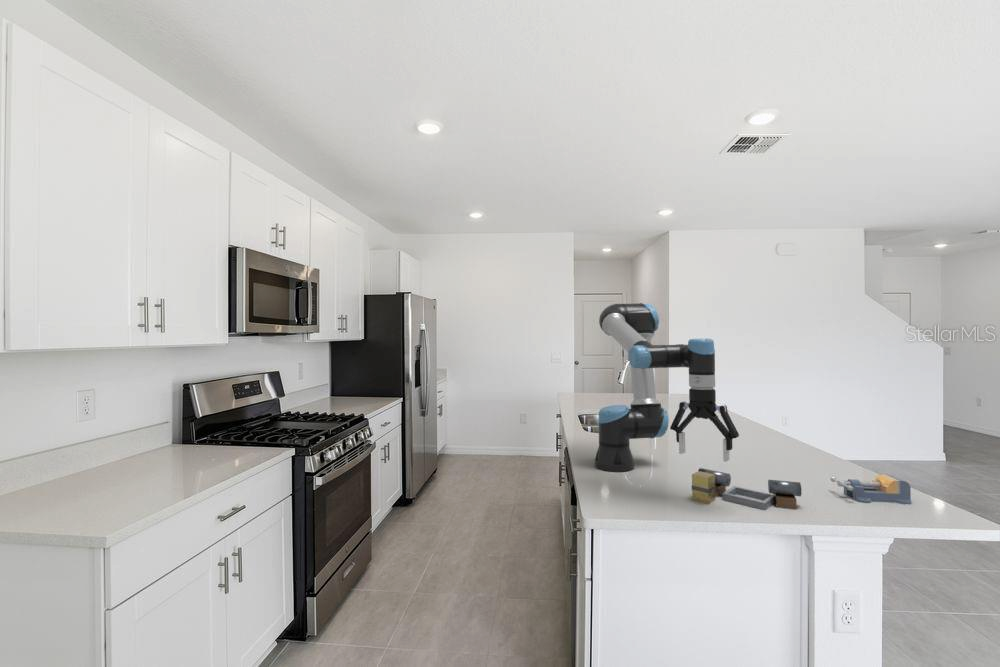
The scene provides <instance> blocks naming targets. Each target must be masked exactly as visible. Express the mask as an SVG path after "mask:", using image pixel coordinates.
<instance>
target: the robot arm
mask: <svg viewBox="0 0 1000 667" xmlns="http://www.w3.org/2000/svg"><path fill="white" fill-rule="evenodd" d="M658 313H659V312H658V311H657V309H656V308H655V307H654V306H653V305H652V304H649V303H642V302H641V303H613V304H610V305H608V306H606V307H605V308H604V309H603V310H602V312H601V313H600V315H599V319H598V324H599V327H600V329H601V330H602V332H603V333H604V334H605V335H607V336H610V337H612V338H613V339H614V340H615V342H617V344H619V345H620V346H621V347H622V348H623V349H624V350H625V351H626V352H627V358H628V362H629V366H630V371H631V381H632V382H631V383H632V393H633V401H632V402H631V403H630V404H629V405H630V407H629V406H628V405H625V404H614V405H607V406H604V407H602V408H600V410H599V411H598V420H597V422H598V448H597V451H596V455H595V458H594V466H595V467H596V469H599V470H602V471H606V472H615V473H616V472H629V471H632V470H634V469H635V460H634V457H633V454H632V451H631V446H630V440H635V439H655V438H661V437H663V436H665V434H666V432H667V430H668V429H669V428H668V427H669V414H668V411H667V409H665V408H664V407H663V406H662V404H661V402H660V401H659V400H658V399H657V394H656V392H657V391H656V382H655V381H656V380H655V371H654V369H662V368H663V369H665V368H668V369H669V368H670V369H671V368H673V369H674V368H687V369H688V387H690V388H689V389H688V392H689V393H688V395H689V396H688V400H689V402H686V401H680V402H679V405H678V410H677V413H676V414H675V417H674V419H673V421H672V422H671V425H670V431H674V432H676V433H675V436H676V439H675V440H676V442H677V443H678V454H680V455H682V454H686V432H685V431H684V430H685V429H686V428H687V426H688V425H689V424H690V423H691V421H693V419H695V418H696V419H703V420H707V419H708V420H710V422H712V423H713V424H714V426H715V427H716V428H717V429H718V430H719V432H720V433H721V435H722V436H723V437H724V438H723V439H722V452H723V453H722V455H723V456H722V459H723V462H728V461H730V459H731V458H730V451H732V450H733V439H736V438H739V437H740V434H739V432H738V430H737V428H736V426H735V424H734V423H733V422H734V421H732V419H731V416H730V415H729V413H728V406H727V405H726V404H723V405H717V403H716V397H717V396H716V389H715V387H716V350H715V341H714V340H713V339H712V338H690V339H689V340H688V341H687V344H682V343H677V344H652V338H653V337H654V336H655V332H656V331H657V330H658V328H659V324H660V318H659V314H658ZM688 409H689V411H690V412H689V413H688V415H687V416H686V417H685V418H684V420H683V421H682V418H683V416H684V415H685V412H686V410H688ZM716 411H718V413H719V414H720V416H721V418H722V420H723V422H724V423H723V422H722V421H721V419H720V418H719V416H718V415H717V414H716ZM681 421H682V422H681Z"/></svg>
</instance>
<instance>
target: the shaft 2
mask: <svg viewBox="0 0 1000 667" xmlns="http://www.w3.org/2000/svg"><path fill="white" fill-rule="evenodd" d="M767 488H768V494H773V495H774V496H775V503H774V504H775V506H776V508H782V509H784V508H785V509H792V510H797V498H796V497H802V484H801V482H799V481H790V480H777V479H768V480H767Z"/></svg>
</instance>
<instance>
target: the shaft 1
mask: <svg viewBox="0 0 1000 667" xmlns="http://www.w3.org/2000/svg"><path fill="white" fill-rule="evenodd" d="M698 471H701V472H706V473H711V474H715V485H716V489H715V497H716V498H717V497H718V498H719V497H720V496H723V493H724V492H725V491H727V487H730V485H731V481H732V476H731V474H730V473H729V472H728V473H727V472H723V471H717V470H714V469H712V470H711V469H708V468H703V467H699V468H698V470H697V472H698Z"/></svg>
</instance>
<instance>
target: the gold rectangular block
mask: <svg viewBox="0 0 1000 667" xmlns="http://www.w3.org/2000/svg"><path fill="white" fill-rule="evenodd" d="M715 489H716V485H715V474H711V473H706V472H701V471H698V470H697V471H696V472H694V473H692V474H691V501H695V502H698V503H702V504H706V505H710V504H711V503H713V502H715V501H716V496H715Z"/></svg>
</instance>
